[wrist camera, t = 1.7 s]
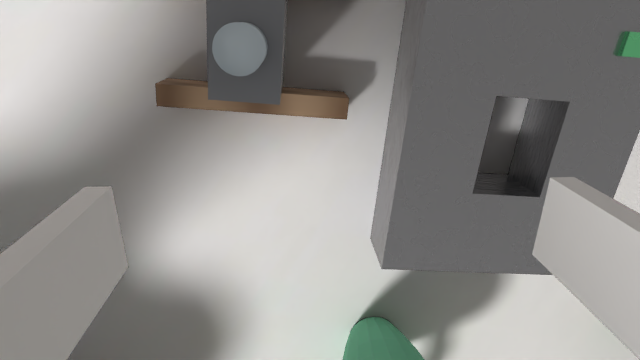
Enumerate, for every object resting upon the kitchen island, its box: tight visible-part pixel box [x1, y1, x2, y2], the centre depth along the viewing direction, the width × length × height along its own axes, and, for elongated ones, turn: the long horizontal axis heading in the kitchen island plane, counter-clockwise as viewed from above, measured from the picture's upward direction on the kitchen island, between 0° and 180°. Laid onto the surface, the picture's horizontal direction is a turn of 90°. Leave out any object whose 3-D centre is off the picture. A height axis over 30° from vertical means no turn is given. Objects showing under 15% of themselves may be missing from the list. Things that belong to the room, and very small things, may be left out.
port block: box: [370, 0, 640, 275], centre depth 32 cm, size 18×22×5 cm
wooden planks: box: [155, 78, 349, 119], centre depth 29 cm, size 14×10×3 cm
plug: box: [206, 0, 287, 105], centre depth 25 cm, size 4×6×13 cm, turn 175°
